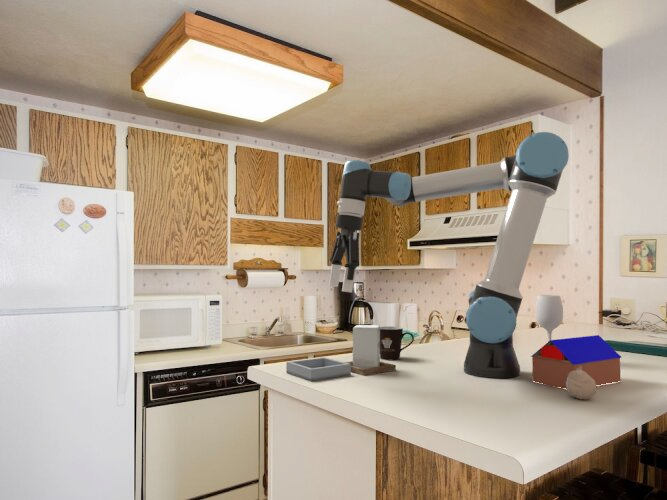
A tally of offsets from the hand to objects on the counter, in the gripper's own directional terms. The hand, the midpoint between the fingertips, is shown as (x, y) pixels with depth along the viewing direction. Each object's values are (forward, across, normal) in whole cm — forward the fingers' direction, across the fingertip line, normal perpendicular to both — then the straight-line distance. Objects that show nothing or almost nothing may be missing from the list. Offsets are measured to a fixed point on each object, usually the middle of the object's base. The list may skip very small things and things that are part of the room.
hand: (339, 289), depth 135 cm
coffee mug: (+22, -14, +26) cm, 37 cm away
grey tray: (+24, +2, -3) cm, 24 cm away
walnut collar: (+22, 0, +12) cm, 25 cm away
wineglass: (+15, +4, +72) cm, 74 cm away
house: (+15, +30, +58) cm, 67 cm away
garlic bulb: (+15, +43, +46) cm, 65 cm away
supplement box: (+23, 0, +12) cm, 26 cm away
